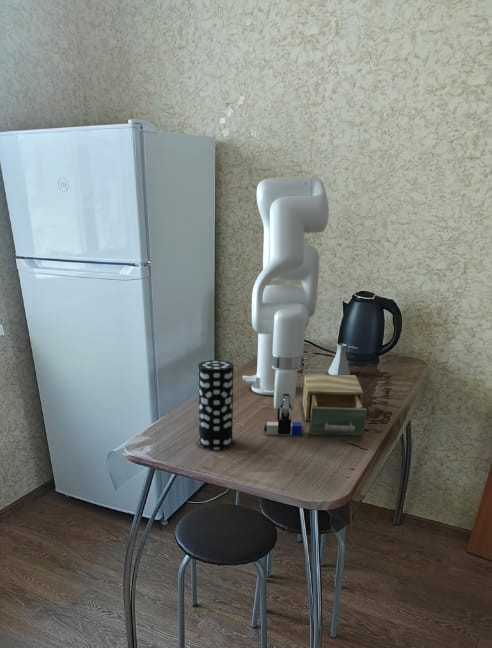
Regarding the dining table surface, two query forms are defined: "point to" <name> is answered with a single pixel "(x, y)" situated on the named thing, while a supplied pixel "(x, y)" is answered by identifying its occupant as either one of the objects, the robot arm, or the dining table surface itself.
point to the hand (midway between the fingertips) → (283, 427)
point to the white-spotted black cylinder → (215, 404)
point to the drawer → (337, 414)
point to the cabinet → (329, 388)
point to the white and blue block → (273, 430)
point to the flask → (340, 362)
